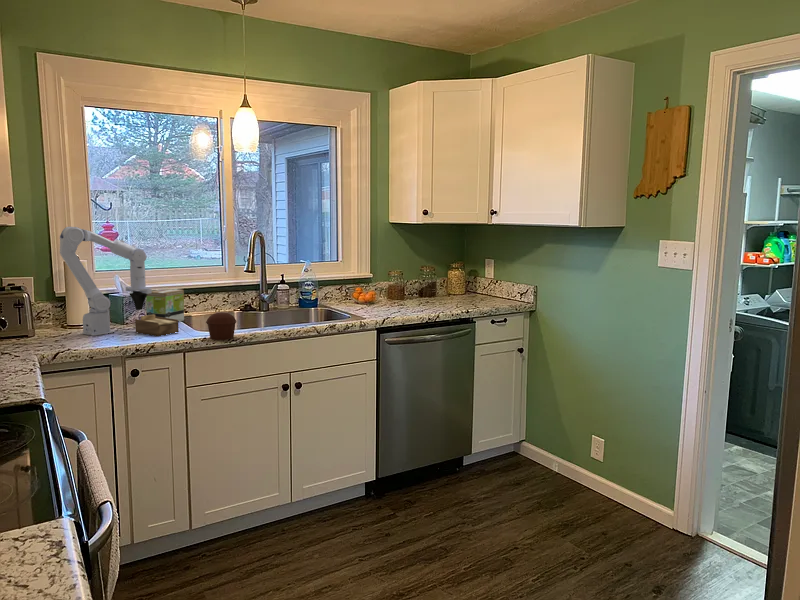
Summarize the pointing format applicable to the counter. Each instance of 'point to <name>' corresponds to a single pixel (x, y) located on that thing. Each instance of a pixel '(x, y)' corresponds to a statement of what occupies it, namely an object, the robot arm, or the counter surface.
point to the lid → (156, 320)
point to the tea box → (166, 304)
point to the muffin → (221, 326)
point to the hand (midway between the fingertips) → (139, 309)
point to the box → (156, 327)
